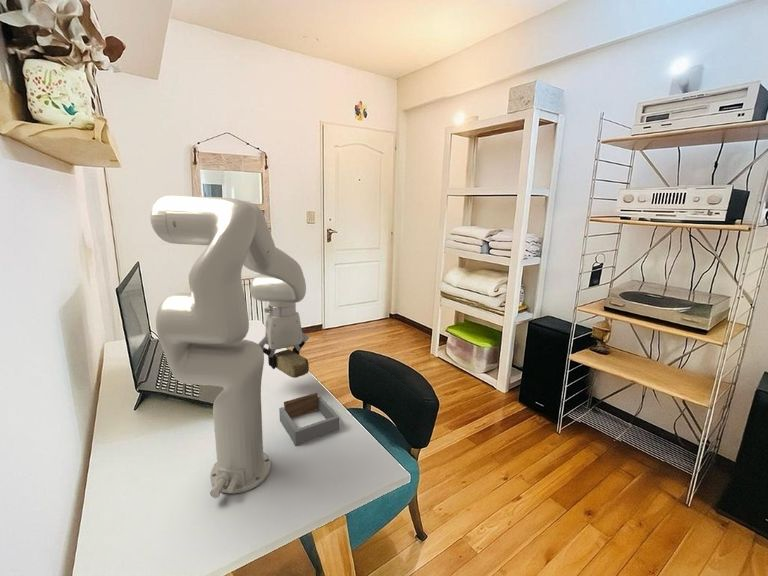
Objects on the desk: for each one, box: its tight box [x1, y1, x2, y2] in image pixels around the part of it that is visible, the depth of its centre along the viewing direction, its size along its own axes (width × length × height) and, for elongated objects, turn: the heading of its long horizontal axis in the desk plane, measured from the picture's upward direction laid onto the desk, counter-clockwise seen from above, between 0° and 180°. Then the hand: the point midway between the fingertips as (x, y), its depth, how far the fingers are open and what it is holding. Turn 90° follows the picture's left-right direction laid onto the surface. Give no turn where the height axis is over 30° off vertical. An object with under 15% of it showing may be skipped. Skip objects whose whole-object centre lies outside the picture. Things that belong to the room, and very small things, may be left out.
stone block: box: [274, 349, 310, 379], centre depth 108 cm, size 6×12×5 cm, turn 50°
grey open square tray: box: [278, 395, 341, 447], centre depth 97 cm, size 12×12×4 cm
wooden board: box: [283, 392, 319, 419], centre depth 101 cm, size 1×10×5 cm, turn 125°
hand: (284, 364), depth 111 cm, fingers closed on stone block, 6 cm apart
